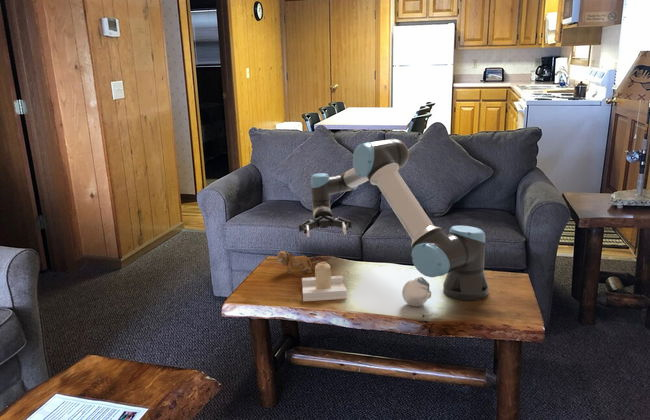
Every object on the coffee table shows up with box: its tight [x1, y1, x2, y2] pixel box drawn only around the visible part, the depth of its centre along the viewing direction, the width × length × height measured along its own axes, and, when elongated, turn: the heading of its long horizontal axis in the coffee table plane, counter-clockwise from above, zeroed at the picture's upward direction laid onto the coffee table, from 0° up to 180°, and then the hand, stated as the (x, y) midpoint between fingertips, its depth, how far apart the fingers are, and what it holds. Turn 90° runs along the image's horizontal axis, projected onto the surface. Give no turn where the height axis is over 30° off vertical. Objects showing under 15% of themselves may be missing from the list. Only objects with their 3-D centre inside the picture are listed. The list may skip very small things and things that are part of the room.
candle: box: [314, 261, 332, 289], centre depth 190 cm, size 6×6×10 cm
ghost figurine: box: [401, 276, 432, 307], centre depth 177 cm, size 9×10×10 cm
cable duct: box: [301, 275, 348, 302], centre depth 191 cm, size 15×13×3 cm
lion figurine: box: [276, 250, 315, 275], centre depth 209 cm, size 15×5×9 cm, turn 93°
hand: (326, 232), depth 197 cm, fingers open, 13 cm apart
